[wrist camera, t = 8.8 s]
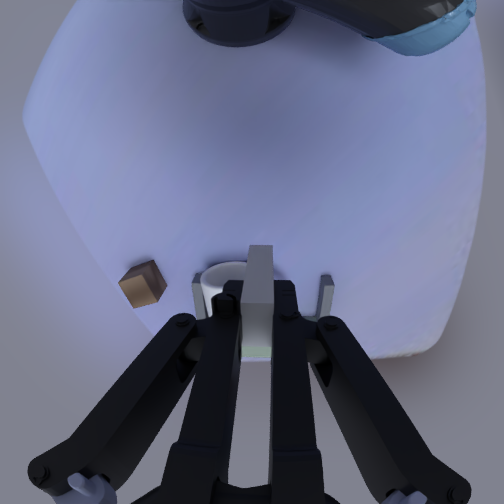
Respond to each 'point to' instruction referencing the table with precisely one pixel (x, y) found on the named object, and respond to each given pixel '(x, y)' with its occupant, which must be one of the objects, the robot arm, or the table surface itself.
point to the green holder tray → (322, 310)
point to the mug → (220, 279)
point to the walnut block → (143, 284)
